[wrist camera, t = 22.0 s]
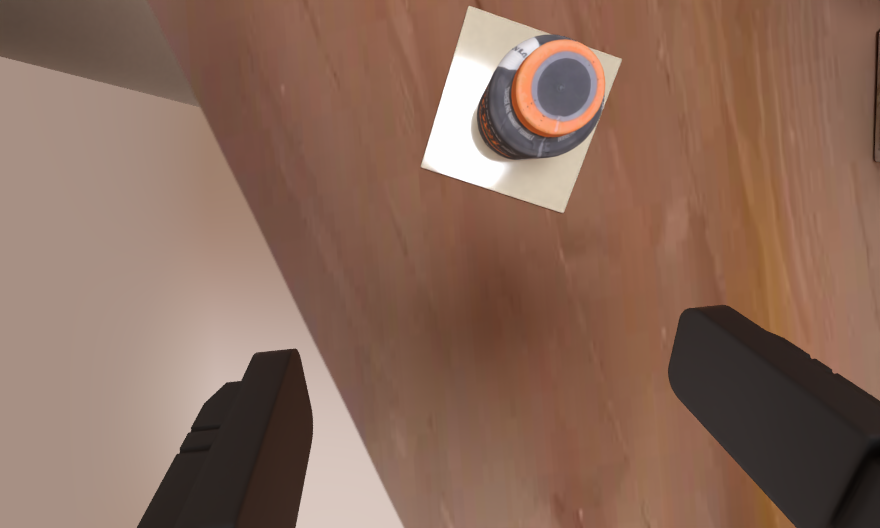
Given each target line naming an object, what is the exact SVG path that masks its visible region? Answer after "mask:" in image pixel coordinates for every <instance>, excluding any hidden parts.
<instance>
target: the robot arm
mask: <svg viewBox="0 0 880 528" xmlns="http://www.w3.org/2000/svg"><path fill="white" fill-rule="evenodd" d="M668 376H669V381H670V384H671V387H672V389H673V391H674V393H675V395H676V396H677V397H678V399H679V400H680V401H681V402H682V403H683V404H684V405H685V406H686V407H687V408H688V409H689V411H690V412H691V413H692V414H693V415H694V416H695V417H696V418H697V419H698V420H699V422H700V423H701V424H702V425H703V426H704V427H705V428H706V429H707V430H708V431H709V432H710V434H711V435H712V436H713V437H714V438H715V439H716V440H717V441H718V442H719V443H720V444H721V446H722V447H723V448H724V449H725V450H726V451H727V452H728V453H729V454H730V455H731V457H732V458H733V459H734V460H735V461H736V462H737V463H738V464H739V465H740V466H741V467H742V469H743V470H744V471H745V472H746V473H747V474H748V475H749V476H750V477H751V478H752V479H753V481H754V482H755V483H756V484H757V485H758V486H759V487H760V488H761V489H762V490H763V492H764V493H765V494H766V495H767V496H768V497H769V498H770V499H771V500H772V501H773V502H774V504H775V505H776V506H777V507H778V508H779V509H780V510H781V511H782V512H783V513H784V514H785V516H786V517H787V518H788V519H789V520H790V521H791V522H792V523H793V524H794V525H795V527H796V528H880V401H879V400H878V399H876V398H875V397H873V396H872V395H870V394H868V393H867V392H865V391H864V390H862V389H861V388H859V387H858V386H856V385H855V384H853V383H852V382H850V381H849V380H847V379H846V378H844V377H843V376H841V375H839V374H838V373H837V374H833V372H832V369H830V368H829V367H827V366H826V365H824V364H823V363H821V362H820V361H818V360H817V359H811V358H810V355H809V354H807V353H806V352H804V351H803V350H801V349H800V348H798V347H797V346H795V345H794V344H792V343H791V342H789V341H788V340H786V339H785V338H782V337H780V336H778V335H775V334H773V333H770V332H768V331H766V330H764V329H763V328H761V327H760V326H758V325H757V324H755V323H754V322H752V321H751V320H749V319H748V318H746V317H745V316H743V315H742V314H740V313H739V312H737V311H736V310H734V309H733V308H731V307H729V306H726V305H717V306H707V307H698V308H689V309H686V310H685V311H683V313H682V314H681V316H680V319H679V323H678V327H677V332H676V336H675V340H674V345H673V349H672V354H671V358H670V363H669V368H668ZM312 435H313V416H312V409H311V404H310V399H309V395H308V390H307V385H306V381H305V376H304V372H303V367H302V362H301V358H300V355H299V352H298V350H297V349H287V350H277V351H268V352H258V353H255V354H254V355H253V357H252V359H251V361H250V363H249V365H248V368H247V370H246V372H245V374H244V377H243V379H242V381H237V382H229V383H226V384H225V385H223V387H222V388H220V389H219V390H218V391H217V392H216V393H215V394H214V395H213V396H212V397H211V398H210V399H209V400H208V401H206V403H204V405H203V407H202V409H201V410H200V412H199V414H198V416H197V418H196V420H195V421H194V423H193V425H192V427H191V432H190V433H188V434H187V436H186V438H185V440H184V442H183V444H182V445H181V447H180V453H179V454H177V455H176V457H175V458H174V460H173V462H172V464H171V466H170V468H169V469H168V471H167V473H166V475H165V477H164V479H163V480H162V482H161V484H160V486H159V488H158V490H157V491H156V493H155V495H154V497H153V499H152V501H151V503H150V504H149V506H148V508H147V510H146V512H145V514H144V515H143V517H142V519H141V521H140V523H139V525H138V526H137V528H295V527H296V522H297V517H298V511H299V506H300V500H301V496H302V491H303V485H304V479H305V475H306V470H307V464H308V459H309V454H310V449H311V443H312V437H313V436H312Z"/></svg>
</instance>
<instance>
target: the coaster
mask: <svg viewBox="0 0 880 528" xmlns="http://www.w3.org/2000/svg"><path fill="white" fill-rule="evenodd" d="M540 35H552V34H549V33H546V32H543V31H540V30H537V29H534V28H532V27H529V26H526V25H523V24H520V23H517V22H514V21H511V20H509V19H506V18H503V17H500V16H497V15H494V14H491V13H488V12H486V11H483V10H480V9H477V8H474V7H471V6H468V9H467V13H466V16H465V19H464V23H463V26H462V29H461V33H460V36H459V39H458V43H457V46H456V49H455V53H454V56H453V60H452V63H451V66H450V70H449V73H448V76H447V80H446V83H445V86H444V90H443V93H442V96H441V100H440V103H439V106H438V110H437V113H436V116H435V120H434V123H433V126H432V130H431V133H430V137H429V140H428V143H427V147H426V150H425V153H424V157H423V160H422V163H421V168H424V169H427V170H431V171H434V172H437V173H440V174H443V175H446V176H449V177H452V178H455V179H458V180H461V181H465V182H468V183H471V184H474V185H477V186H480V187H483V188H486V189H489V190H492V191H495V192H498V193H502V194H505V195H508V196H511V197H514V198H517V199H520V200H523V201H526V202H529V203H532V204H536V205H539V206H542V207H545V208H548V209H551V210H554V211H557V212H560V213H564V211H565V208H566V205H567V203H568V200H569V197H570V195H571V192H572V190H573V187H574V184H575V182H576V179H577V176H578V174H579V171H580V169H581V166H582V163H583V161H584V158H585V155H586V153H587V150H588V148H589V145H590V142H591V140H592V137H593V134H594V132H595V129H596V127H597V124H598V122H597V124H596V126H595V127H594V129H593V131H592V132H591V133H590V135H589V136H588V137H587V138H586V139H585V140H584V141H583V142H582V143H581V144H580V145H578V146H577V147H575V148H574V149H572V150H570V151H569V152H567V153H564V154H562V155H559V156H556V157H550V158H540V159H529V160H512V159H507V158H504V157H502V156H500V155H498V154H497V153H495V152H494V151H493V150H491V149H490V148H489V147H488V146H487V145H486V143H485V142H484V141H483V139H482V137H481V135H480V132H479V129H478V123H477V110H478V105H479V102H480V98H481V96H482V94H483V93H484V91H485V89H486V87H487V85H488V83H489V81H490V79H491V77H492V75H493V73H494V71H495V70H496V68H497V66H498V65H499V63H500V62H501V60H502V59H503V58H504V57H505V55H506V54H507V53H508V52H509V51H510V50H512V49H513V48H514V47H516V46H517V45H518V44H520V43H522V42H523V41H525V40H528V39H530V38H532V37H535V36H540ZM588 48H589V47H588ZM589 49H590V50H591V51H593V52H594V54H595V55H596V56H597V58H598V59H599V61H600V62H601V65H602V67H603V70H604V76H605V98H604V105H603V108H604V106H605V103H606V100H607V98H608V95H609V92H610V90H611V87H612V85H613V82H614V79H615V77H616V74H617V71H618V69H619V66H620V64H621V61H622V59H621V58H618V57H615V56H612V55H609V54H606V53H603V52H601V51H598V50H595V49H592V48H589ZM602 111H603V109H602ZM601 113H602V112H601ZM600 116H601V115H600ZM599 119H600V118H599ZM598 121H599V120H598Z"/></svg>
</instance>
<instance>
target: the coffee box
mask: <svg viewBox="0 0 880 528" xmlns="http://www.w3.org/2000/svg"><path fill="white" fill-rule="evenodd" d="M875 161H876V162H880V32H879V49H878V75H877V106H876V132H875Z"/></svg>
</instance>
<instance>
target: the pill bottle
mask: <svg viewBox="0 0 880 528" xmlns="http://www.w3.org/2000/svg"><path fill="white" fill-rule="evenodd" d="M604 98H605V76H604V70H603V67H602V65H601V62H600V61H599V59H598V58H597V56H596V55H595V54H594V52H593V51H591V50H590V49H589V48H588V47H586V46H585V45H584V44H582V43H579V42H577V41H575V40H573V39H570V38H568V37H565V36H560V35H540V36H535V37H532V38H530V39H528V40H525V41H523V42H522V43H520V44H518V45H517V46H516V47H514V48H513V49H512V50H510V51H509V52H508V53H507V54H506V55H505V57H504V58H503V59H502V60H501V62H500V63H499V65H498V66H497V68H496V70H495V71H494V73H493V75H492V77H491V79H490V81H489V83H488V85H487V87H486V89H485V91H484V93H483V94H482V96H481V98H480V102H479V105H478V110H477V123H478V129H479V132H480V135H481V137H482V139H483V141H484V142H485V143H486V145H487V146H488V147H489V148H490V149H491V150H493V151H494V152H495V153H497V154H498V155H500V156H502V157H504V158H507V159H512V160H529V159H540V158H550V157H556V156H559V155H562V154H564V153H567V152H569V151H570V150H572V149H574V148H575V147H577V146H578V145H580V144H581V143H582V142H583V141H584V140H585V139H586V138H587V137H588V136H589V135H590V133H591V132H592V131H593V129H594V127H595V126H596V124H597V122H598V120H599V118H600V115H601V112H602V109H603V105H604Z"/></svg>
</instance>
